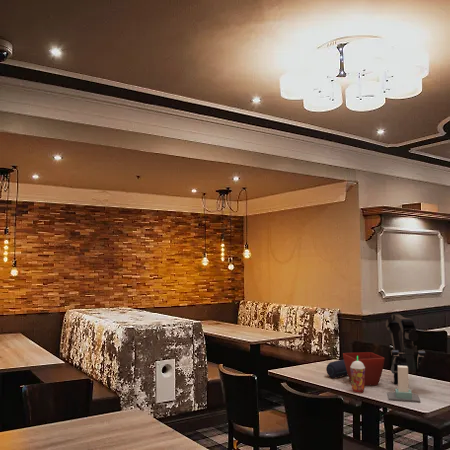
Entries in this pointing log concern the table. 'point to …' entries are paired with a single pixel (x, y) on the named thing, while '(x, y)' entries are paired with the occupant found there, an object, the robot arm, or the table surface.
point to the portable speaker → (336, 369)
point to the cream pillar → (403, 379)
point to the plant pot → (366, 366)
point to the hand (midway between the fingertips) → (409, 368)
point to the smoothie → (357, 376)
